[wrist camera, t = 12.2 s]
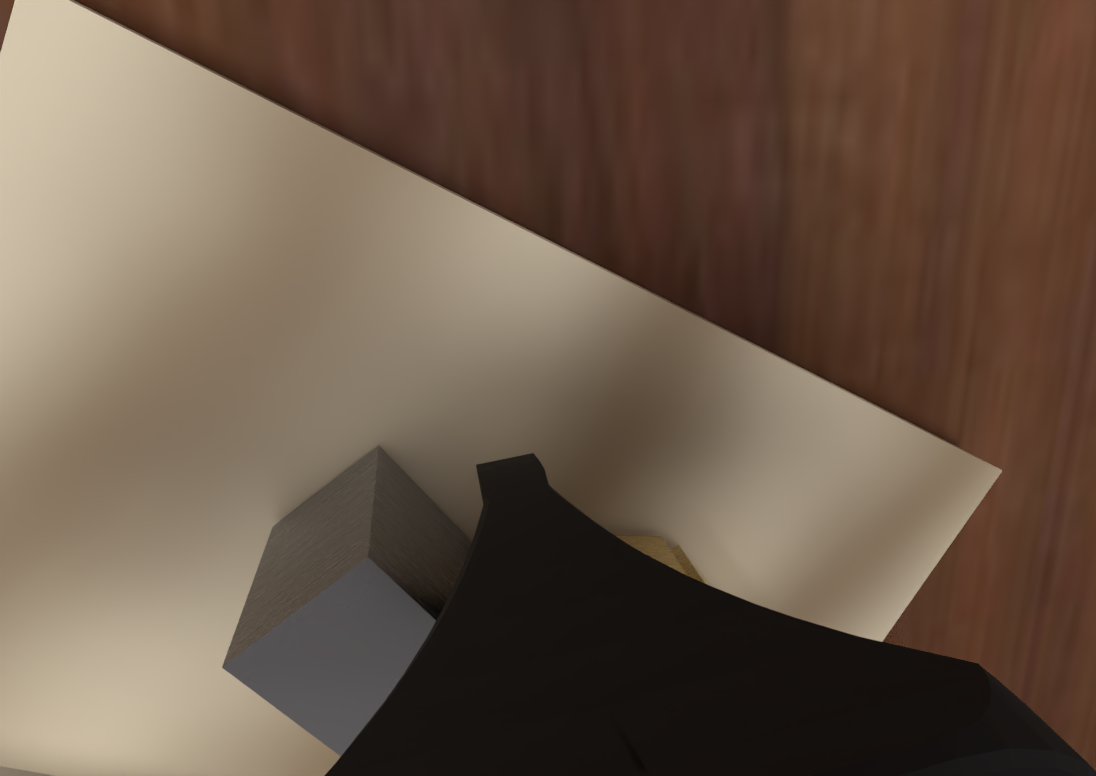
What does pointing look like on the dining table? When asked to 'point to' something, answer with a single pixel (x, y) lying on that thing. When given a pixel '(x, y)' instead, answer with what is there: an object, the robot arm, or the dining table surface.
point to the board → (348, 401)
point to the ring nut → (356, 597)
